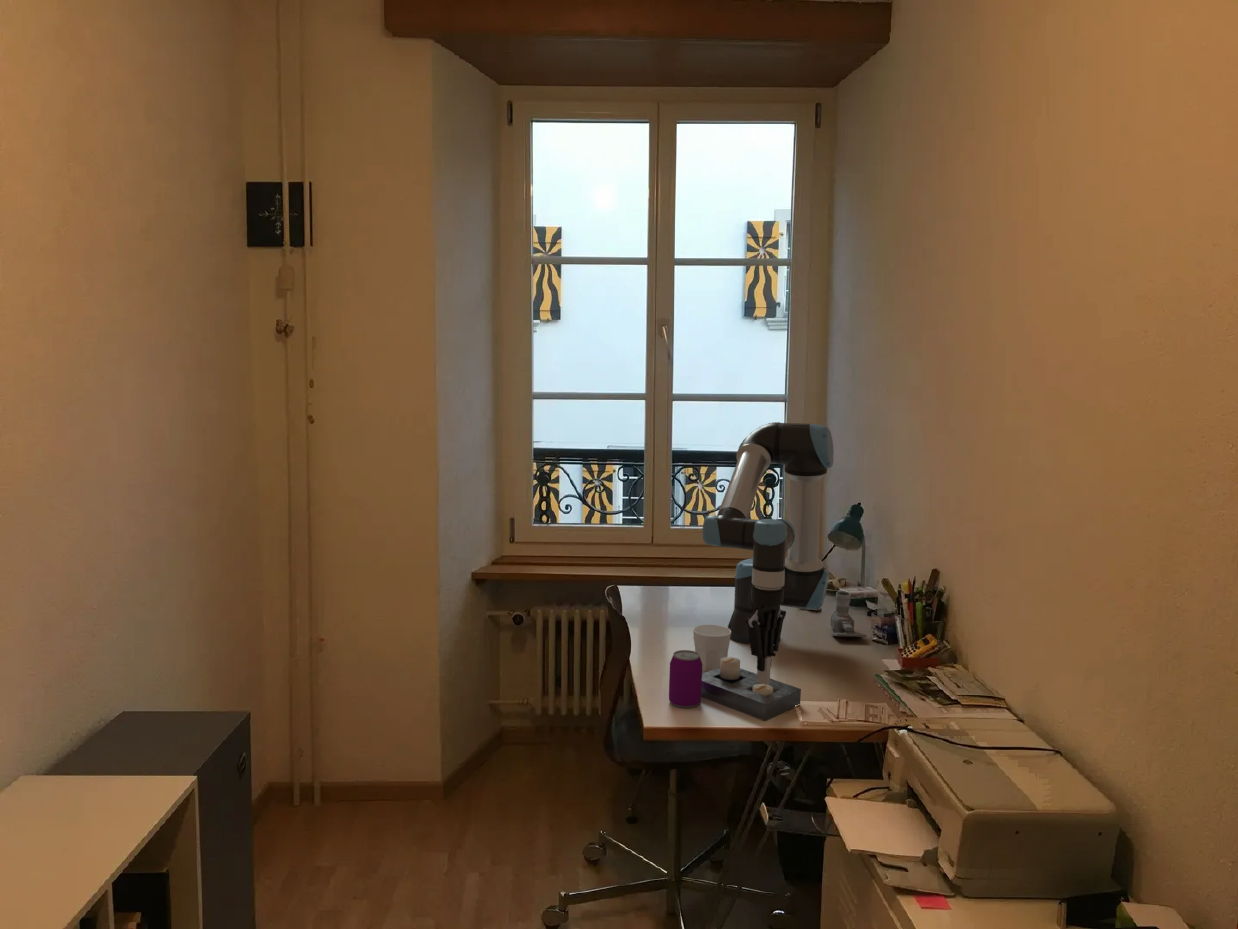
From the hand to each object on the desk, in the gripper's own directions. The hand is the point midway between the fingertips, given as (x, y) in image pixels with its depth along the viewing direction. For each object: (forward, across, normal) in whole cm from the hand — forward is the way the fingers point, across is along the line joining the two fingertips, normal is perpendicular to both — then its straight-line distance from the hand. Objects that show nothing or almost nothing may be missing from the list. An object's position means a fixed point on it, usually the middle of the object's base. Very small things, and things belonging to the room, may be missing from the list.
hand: (763, 682), depth 207 cm
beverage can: (+6, +13, -13) cm, 19 cm away
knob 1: (+2, 0, -10) cm, 10 cm away
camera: (+7, -63, -16) cm, 65 cm away
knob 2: (+6, 0, 0) cm, 6 cm away
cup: (+6, -11, -25) cm, 28 cm away
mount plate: (+6, 0, -5) cm, 7 cm away
